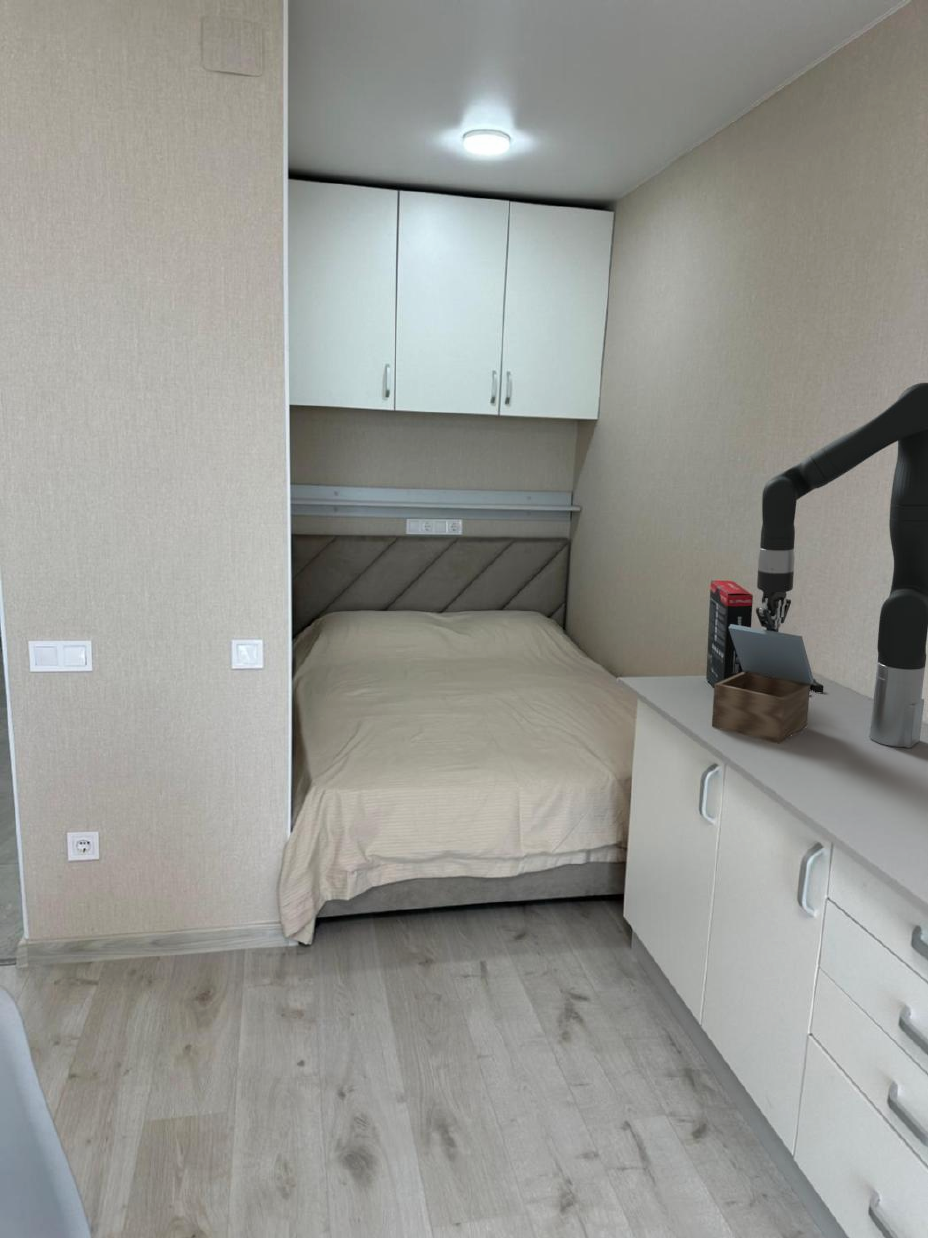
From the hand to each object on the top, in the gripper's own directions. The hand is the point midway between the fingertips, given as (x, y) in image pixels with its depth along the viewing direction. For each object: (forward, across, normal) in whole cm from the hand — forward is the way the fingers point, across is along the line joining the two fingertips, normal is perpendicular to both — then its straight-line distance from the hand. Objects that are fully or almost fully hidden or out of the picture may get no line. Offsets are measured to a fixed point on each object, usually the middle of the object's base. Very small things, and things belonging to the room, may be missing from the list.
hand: (771, 643), depth 201 cm
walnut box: (+19, -4, 0) cm, 19 cm away
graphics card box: (+20, +16, +19) cm, 32 cm away
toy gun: (+20, +29, +6) cm, 36 cm away
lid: (+3, 0, 0) cm, 3 cm away
